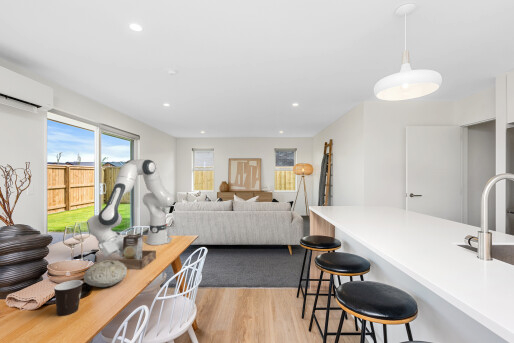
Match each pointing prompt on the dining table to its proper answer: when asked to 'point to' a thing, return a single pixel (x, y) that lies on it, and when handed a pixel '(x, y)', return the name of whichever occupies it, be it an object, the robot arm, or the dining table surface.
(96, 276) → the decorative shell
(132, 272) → the dining table surface
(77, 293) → the coffee mug
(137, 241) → the coffee box
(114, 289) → the dining table surface
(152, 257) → the brown wooden tray
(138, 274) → the dining table surface
